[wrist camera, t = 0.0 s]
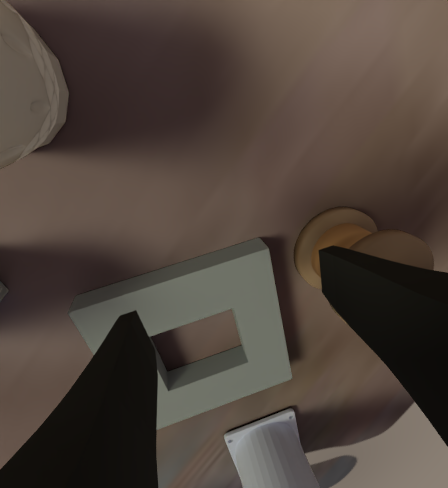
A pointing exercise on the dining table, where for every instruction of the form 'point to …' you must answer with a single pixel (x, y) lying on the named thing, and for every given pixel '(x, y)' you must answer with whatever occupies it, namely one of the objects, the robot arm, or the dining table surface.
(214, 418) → the dining table surface
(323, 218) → the wooden knob
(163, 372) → the notched board
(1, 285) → the label tape box
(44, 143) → the white cup
